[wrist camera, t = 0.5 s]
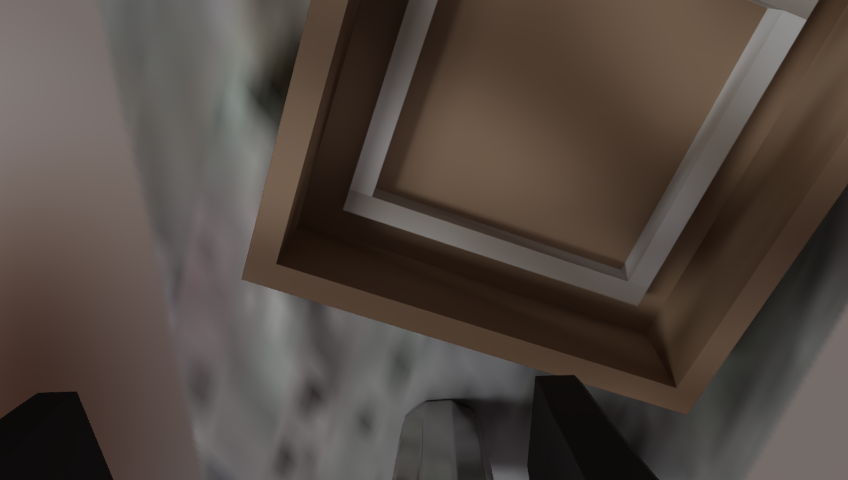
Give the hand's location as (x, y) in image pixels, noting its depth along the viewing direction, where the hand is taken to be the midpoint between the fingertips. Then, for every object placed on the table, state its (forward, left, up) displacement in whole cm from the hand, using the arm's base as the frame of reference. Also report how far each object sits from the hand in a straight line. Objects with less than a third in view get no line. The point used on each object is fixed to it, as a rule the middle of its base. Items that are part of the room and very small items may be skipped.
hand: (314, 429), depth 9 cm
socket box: (+5, -4, -11) cm, 12 cm away
